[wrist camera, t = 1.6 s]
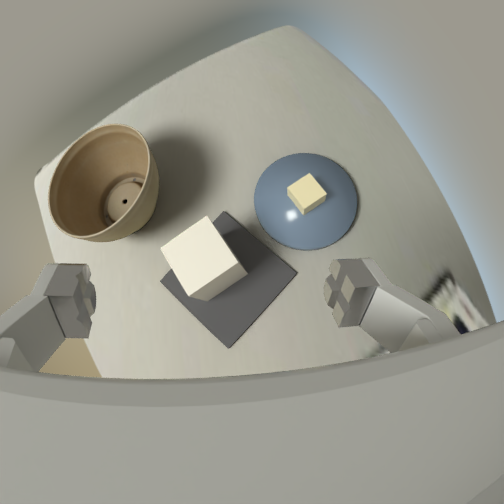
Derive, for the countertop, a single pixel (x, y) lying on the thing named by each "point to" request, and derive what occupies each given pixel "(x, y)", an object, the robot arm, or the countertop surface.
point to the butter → (306, 193)
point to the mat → (237, 285)
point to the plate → (315, 221)
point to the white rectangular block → (203, 261)
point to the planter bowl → (104, 185)
